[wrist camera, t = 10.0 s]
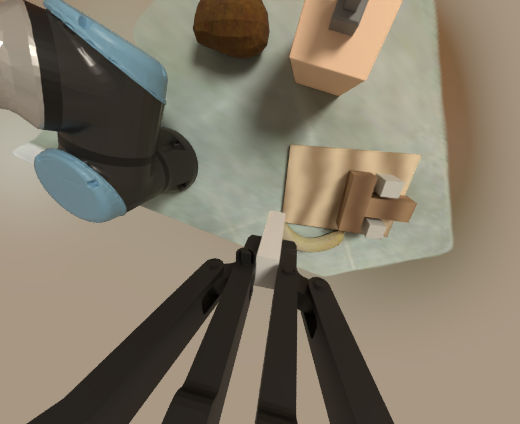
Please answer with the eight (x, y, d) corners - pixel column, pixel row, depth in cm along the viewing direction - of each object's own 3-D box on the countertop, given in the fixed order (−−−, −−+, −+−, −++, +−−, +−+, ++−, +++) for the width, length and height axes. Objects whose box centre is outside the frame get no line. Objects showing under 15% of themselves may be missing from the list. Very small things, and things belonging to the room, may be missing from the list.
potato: (212, -14, 31) (183, -56, 24) (280, 9, 31) (273, -28, 23) (205, 50, 35) (177, 31, 28) (265, 70, 35) (254, 57, 27)
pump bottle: (339, 96, 34) (386, 69, 15) (294, 82, 35) (283, 38, 15) (380, -1, 28) (548, -260, 9) (324, -16, 29) (369, -295, 9)
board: (281, 219, 48) (281, 221, 47) (290, 144, 39) (290, 145, 38) (385, 234, 44) (387, 236, 43) (418, 154, 36) (421, 155, 35)
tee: (335, 221, 44) (338, 230, 40) (349, 170, 38) (354, 175, 35) (392, 229, 42) (400, 239, 38) (415, 176, 36) (427, 182, 33)
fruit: (337, 251, 49) (339, 259, 46) (278, 242, 51) (277, 249, 48) (343, 227, 46) (346, 235, 43) (281, 218, 48) (280, 225, 45)
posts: (359, 225, 43) (365, 237, 39) (376, 173, 38) (386, 180, 33) (373, 227, 43) (381, 239, 38) (392, 174, 37) (405, 182, 33)
